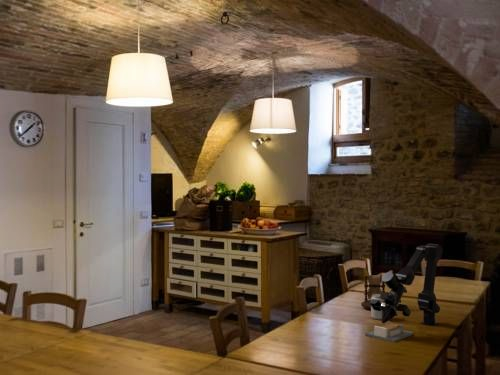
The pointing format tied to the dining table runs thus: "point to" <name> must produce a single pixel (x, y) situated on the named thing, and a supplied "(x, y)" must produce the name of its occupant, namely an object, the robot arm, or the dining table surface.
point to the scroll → (372, 288)
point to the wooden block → (391, 326)
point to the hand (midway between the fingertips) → (382, 322)
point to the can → (375, 313)
